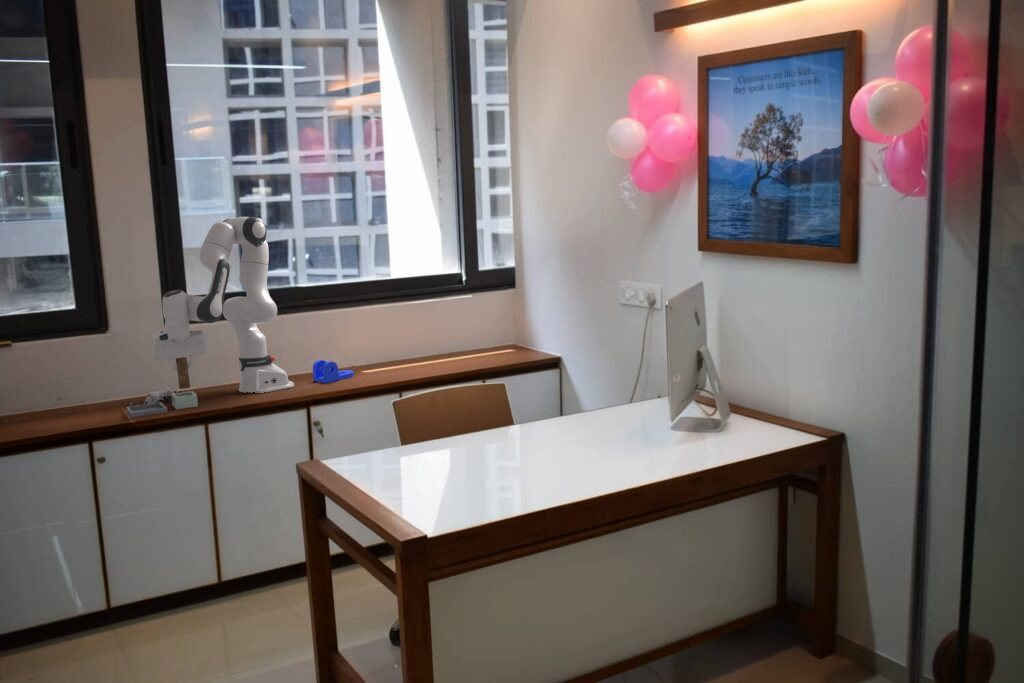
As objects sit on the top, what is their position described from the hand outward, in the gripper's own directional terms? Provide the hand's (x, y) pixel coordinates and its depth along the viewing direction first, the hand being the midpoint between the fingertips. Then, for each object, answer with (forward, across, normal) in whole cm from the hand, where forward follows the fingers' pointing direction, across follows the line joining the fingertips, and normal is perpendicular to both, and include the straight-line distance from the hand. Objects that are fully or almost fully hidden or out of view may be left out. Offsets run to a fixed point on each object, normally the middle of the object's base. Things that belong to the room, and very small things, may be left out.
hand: (182, 368), depth 357 cm
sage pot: (+16, +1, 0) cm, 16 cm away
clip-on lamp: (+16, +9, -13) cm, 23 cm away
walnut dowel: (+8, 0, 0) cm, 8 cm away
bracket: (+18, -66, -14) cm, 70 cm away
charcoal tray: (+15, +15, 0) cm, 21 cm away
